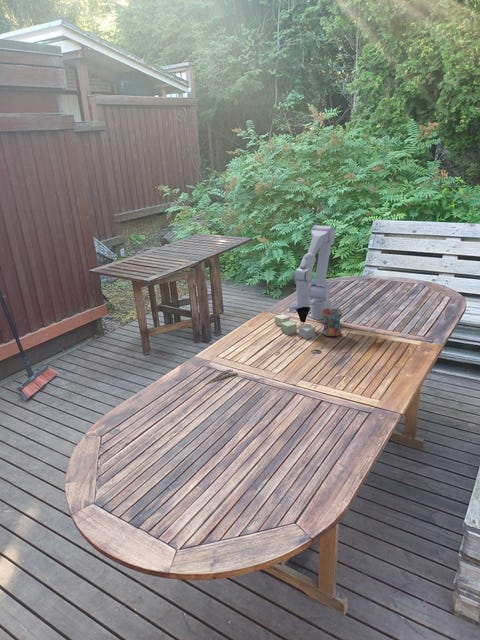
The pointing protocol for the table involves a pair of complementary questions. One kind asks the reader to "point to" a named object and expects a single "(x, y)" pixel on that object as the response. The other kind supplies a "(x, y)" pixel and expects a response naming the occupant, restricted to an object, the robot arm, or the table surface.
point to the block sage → (288, 327)
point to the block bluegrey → (307, 331)
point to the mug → (331, 321)
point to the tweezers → (222, 376)
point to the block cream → (281, 319)
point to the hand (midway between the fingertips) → (302, 321)
